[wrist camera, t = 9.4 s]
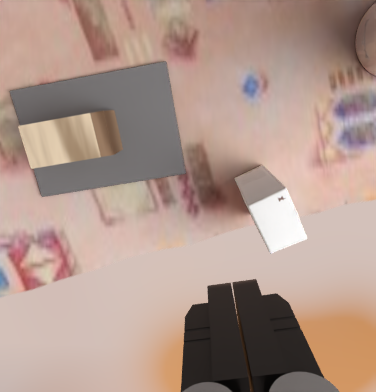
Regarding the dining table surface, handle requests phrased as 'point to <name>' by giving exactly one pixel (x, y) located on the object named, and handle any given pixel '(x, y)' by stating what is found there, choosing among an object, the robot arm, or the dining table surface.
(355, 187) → the dining table surface
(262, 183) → the skincare box
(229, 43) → the dining table surface
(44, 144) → the birch block
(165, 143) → the mat
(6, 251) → the dining table surface
